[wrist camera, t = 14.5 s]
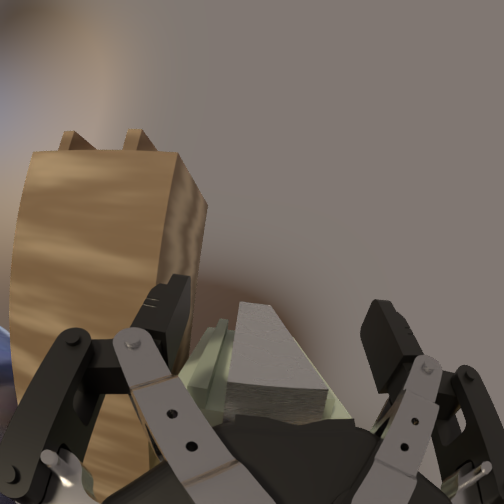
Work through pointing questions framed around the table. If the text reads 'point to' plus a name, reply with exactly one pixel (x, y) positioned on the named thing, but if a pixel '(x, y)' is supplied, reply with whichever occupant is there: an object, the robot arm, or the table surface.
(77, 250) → the oak stand
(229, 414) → the steel bar
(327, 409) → the sage dock
